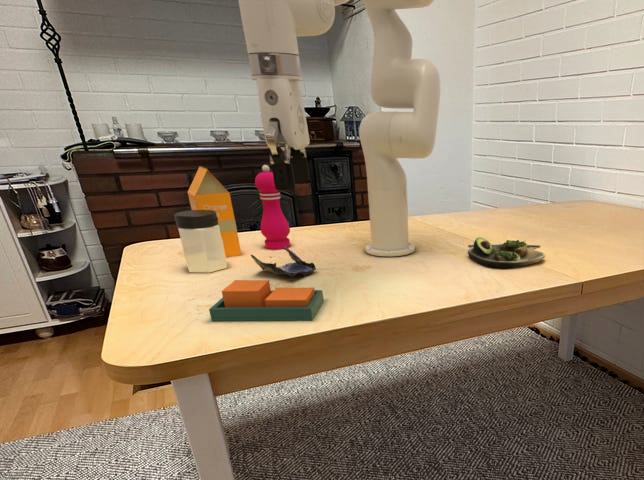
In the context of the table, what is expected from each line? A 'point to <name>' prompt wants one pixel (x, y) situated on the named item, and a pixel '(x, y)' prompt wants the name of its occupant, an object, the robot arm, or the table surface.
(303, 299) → the fitted pad
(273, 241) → the pepper mill
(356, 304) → the table surface
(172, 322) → the table surface
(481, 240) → the salad plate
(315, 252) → the table surface
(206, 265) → the jar
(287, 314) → the tray
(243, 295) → the orange block
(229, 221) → the orange juice
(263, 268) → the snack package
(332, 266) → the table surface
